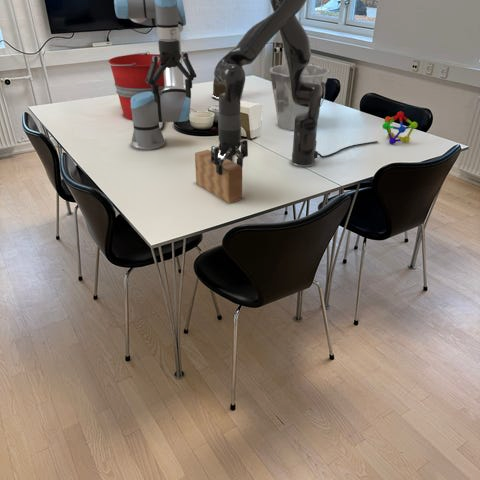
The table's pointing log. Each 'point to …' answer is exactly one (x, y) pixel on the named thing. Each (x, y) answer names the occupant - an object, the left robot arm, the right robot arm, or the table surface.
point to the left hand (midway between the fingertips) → (173, 99)
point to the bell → (218, 88)
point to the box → (219, 177)
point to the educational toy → (398, 128)
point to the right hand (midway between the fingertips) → (229, 171)
